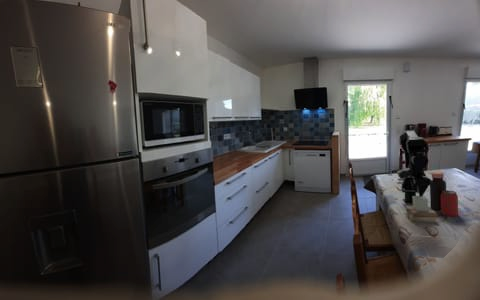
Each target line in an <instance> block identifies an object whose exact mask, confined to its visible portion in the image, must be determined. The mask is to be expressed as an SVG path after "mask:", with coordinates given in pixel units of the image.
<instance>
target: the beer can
mask: <svg viewBox="0 0 480 300" xmlns="http://www.w3.org/2000/svg"><path fill="white" fill-rule="evenodd" d="M440 214H441V215H443V216H446V217H458V216H459V196H458V194H457V192H456V191H454V190H447V189H446V191H442V193H441V211H440Z"/></svg>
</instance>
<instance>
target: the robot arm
mask: <svg viewBox="0 0 480 300" xmlns="http://www.w3.org/2000/svg"><path fill="white" fill-rule="evenodd" d="M398 142H399V145H400V147H401V149H402V150H403V152H404V168H402V169H400V170H397V171H396V174H397V175H398V177H399V178H400V179H402V182H401V187H400V190H401V193H404V198H403V199H402V201H403V202H404V203H405V204H413V198H412V196H417V193H418V196H420V197H422V196H424V195H425V193H426V191H427V190H428V188H429V187H430V184H431V180H432V179H431V178H430V177H428V176H427V174H426V173H425V169H426V166H427V165H428V164H429V158H428V157H427V156H426V155H425V153H429V150H430V149H429V148H430V147H429V144H428V142H427V140H426V139H425V138H424V137H421V136H418V135H417V133H416V130H405V131H403V133H402V134H400V136H399V141H398Z"/></svg>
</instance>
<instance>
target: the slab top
mask: <svg viewBox="0 0 480 300" xmlns="http://www.w3.org/2000/svg"><path fill="white" fill-rule="evenodd" d="M405 212H406V213H407V212H408V213H409V214H411V215H412V216H413V217H435V218H437V214H438V213H437V211H436V210H433V209H431V207H430V206H428V211H416V210H415V209H414V208H413V205H409V206H408V205H405Z"/></svg>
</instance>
